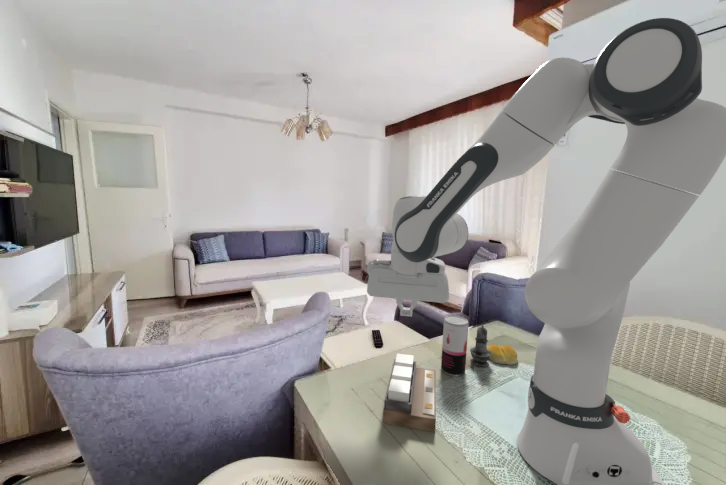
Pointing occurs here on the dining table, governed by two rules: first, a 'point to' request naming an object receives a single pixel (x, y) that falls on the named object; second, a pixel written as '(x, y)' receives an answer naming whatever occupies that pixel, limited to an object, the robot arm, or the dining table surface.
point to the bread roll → (503, 354)
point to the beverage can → (454, 345)
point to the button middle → (402, 373)
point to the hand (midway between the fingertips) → (406, 315)
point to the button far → (404, 360)
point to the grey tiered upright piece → (480, 349)
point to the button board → (414, 402)
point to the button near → (399, 390)
